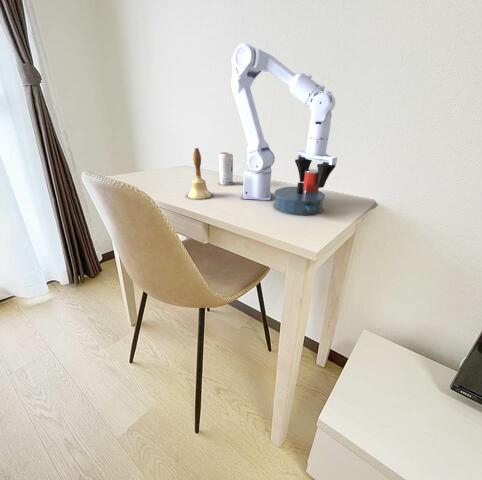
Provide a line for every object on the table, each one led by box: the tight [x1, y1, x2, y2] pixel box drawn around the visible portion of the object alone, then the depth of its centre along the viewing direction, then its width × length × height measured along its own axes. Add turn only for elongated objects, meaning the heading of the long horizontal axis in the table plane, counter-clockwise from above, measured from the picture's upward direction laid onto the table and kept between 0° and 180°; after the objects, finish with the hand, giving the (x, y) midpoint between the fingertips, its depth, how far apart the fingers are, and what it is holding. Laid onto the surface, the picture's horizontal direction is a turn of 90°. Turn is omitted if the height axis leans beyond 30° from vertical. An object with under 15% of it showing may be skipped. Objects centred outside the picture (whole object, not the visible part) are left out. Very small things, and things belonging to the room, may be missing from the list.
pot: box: [274, 195, 324, 216], centre depth 81 cm, size 14×20×4 cm
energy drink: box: [218, 151, 234, 186], centre depth 104 cm, size 5×5×12 cm
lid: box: [274, 182, 326, 203], centre depth 80 cm, size 15×15×4 cm
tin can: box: [303, 168, 320, 193], centre depth 81 cm, size 5×5×6 cm
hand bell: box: [187, 147, 212, 200], centre depth 88 cm, size 8×8×16 cm
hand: (311, 184), depth 81 cm, fingers open, 7 cm apart
